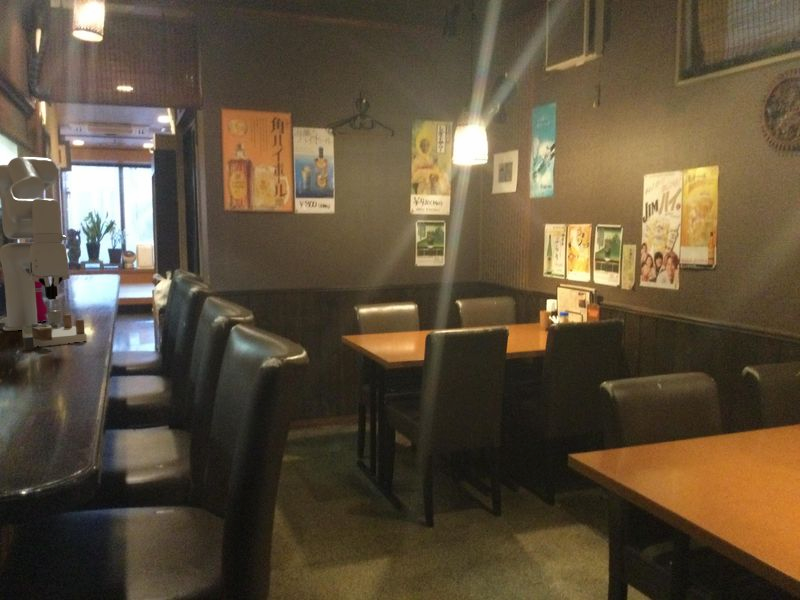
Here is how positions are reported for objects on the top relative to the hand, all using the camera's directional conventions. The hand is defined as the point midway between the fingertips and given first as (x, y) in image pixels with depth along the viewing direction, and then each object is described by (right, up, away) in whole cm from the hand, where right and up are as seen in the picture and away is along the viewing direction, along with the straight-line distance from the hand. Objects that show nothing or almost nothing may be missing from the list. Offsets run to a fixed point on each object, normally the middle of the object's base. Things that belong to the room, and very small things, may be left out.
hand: (51, 299), depth 198 cm
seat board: (-6, -14, +11) cm, 18 cm away
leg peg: (-13, -12, +27) cm, 32 cm away
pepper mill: (-36, -9, +57) cm, 68 cm away
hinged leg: (-2, -12, -1) cm, 13 cm away
